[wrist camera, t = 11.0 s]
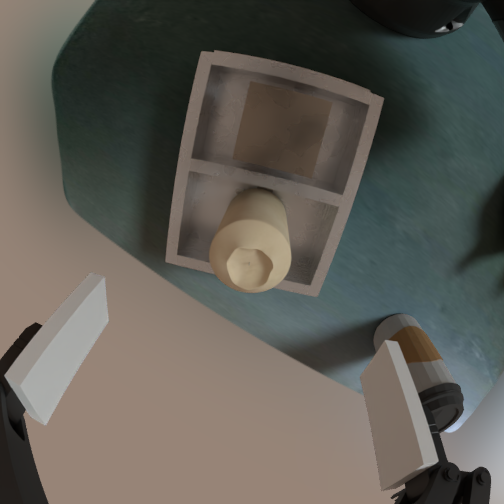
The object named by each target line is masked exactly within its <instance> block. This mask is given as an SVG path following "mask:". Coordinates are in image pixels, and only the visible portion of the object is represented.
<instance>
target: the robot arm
mask: <svg viewBox="0 0 504 504" xmlns="http://www.w3.org/2000/svg"><path fill="white" fill-rule="evenodd" d="M350 1H351V2H352V3H353V4H354V5H355V6H356V7H358V8H359V9H360V10H361V11H362V12H364V13H365V14H366V15H368V16H369V17H371V18H372V19H374V20H375V21H377V22H378V23H380V24H382V25H384V26H386V27H387V28H390V29H392V30H394V31H396V32H399V33H402V34H405V35H408V36H412V37H417V38H437V37H440V36H444V35H446V34H449V33H452V32H454V31H456V30H458V29H459V28H460V27H461V26H463V25H464V23H465V22H466V21H467V19H468V18H469V17H470V15H471V14H472V13H473V11H474V10H475V8H476V7H477V6H478V4H479V3H480V2H481V3H482V5H483V6H484V8H485V9H486V11H487V13H488V14H489V16H490V18H491V19H492V22H493V23H494V25H495V27H496V29H497V31H498V32H499V34H500V36H501V38H502V40H503V42H504V0H350ZM105 287H106V286H105V277H104V276H102V275H99V274H96V273H93V272H91V273H90V274H89V275H88V276H87V277H86V278H85V279H84V280H83V281H82V282H81V283H80V284H79V285H78V286H77V288H76V289H75V290H74V291H73V292H72V293H71V294H70V295H69V296H68V297H67V298H66V300H65V301H64V302H63V303H62V304H61V305H60V306H59V307H58V309H57V310H56V311H55V312H54V313H53V314H52V316H51V317H50V318H49V319H48V320H47V321H46V323H45V324H44V325H43V326H42V325H40V324H38V323H34V324H32V325H31V326H29V327H27V328H26V329H25V330H24V331H23V333H22V334H21V335H20V336H19V338H18V339H17V340H16V341H15V342H14V344H13V345H12V346H11V347H10V348H9V350H8V351H7V352H6V353H5V354H4V356H3V357H2V358H1V360H0V504H48V501H47V498H46V495H45V493H44V490H43V487H42V484H41V481H40V478H39V475H38V472H37V469H36V465H35V462H34V458H33V454H32V451H31V447H30V443H29V439H28V434H27V429H26V424H25V419H24V416H23V414H24V412H25V410H26V411H27V412H28V414H29V415H30V417H32V418H33V419H35V420H36V421H38V422H40V423H42V424H43V425H45V426H46V424H47V422H48V420H49V419H50V417H51V415H52V413H53V411H54V410H55V408H56V406H57V404H58V402H59V401H60V399H61V397H62V395H63V394H64V392H65V390H66V389H67V387H68V385H69V383H70V382H71V380H72V378H73V377H74V375H75V373H76V372H77V370H78V368H79V367H80V365H81V364H82V362H83V360H84V359H85V357H86V356H87V354H88V352H89V351H90V349H91V348H92V346H93V345H94V343H95V342H96V340H97V338H98V337H99V335H100V334H101V332H102V331H103V329H104V328H105V326H106V324H107V323H108V322H109V319H108V310H107V298H106V288H105ZM360 380H361V384H362V388H363V393H364V397H365V402H366V407H367V411H368V416H369V421H370V426H371V432H372V437H373V442H374V447H375V454H376V460H377V465H378V472H379V479H380V486H381V491H382V490H390V489H396V488H397V487H399V486H401V485H403V484H405V487H406V488H405V489H403V490H401V491H399V492H398V493H396V494H394V495H393V496H392V497H391V499H393V498H395V497H397V496H399V497H398V498H397V499H396V500H395V501H396V502H395V504H489V499H490V488H491V476H490V473H489V471H488V470H487V469H486V468H484V467H479V468H477V469H475V470H474V471H472V472H464V471H460V470H459V468H458V467H457V466H456V465H455V464H453V463H451V462H448V460H447V458H446V455H445V451H444V448H443V444H442V441H441V438H440V434H439V433H438V428H437V426H436V422H435V419H434V416H433V414H432V412H431V411H430V410H429V408H428V407H427V405H425V406H422V405H421V402H420V399H419V396H418V393H417V390H416V388H415V385H414V382H413V380H412V377H411V374H410V372H409V369H408V366H407V364H406V361H405V359H404V356H403V354H402V351H401V349H400V346H399V344H398V342H397V341H389V340H385V341H384V342H383V344H382V345H381V347H380V348H379V350H378V351H377V353H376V354H375V356H374V357H373V359H372V360H371V362H370V363H369V364H368V366H367V367H366V369H365V370H364V372H363V373H362V374H361V376H360Z"/></svg>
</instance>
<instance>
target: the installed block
mask: <svg viewBox="0 0 504 504" xmlns="http://www.w3.org/2000/svg"><path fill="white" fill-rule="evenodd" d="M332 103H333V102H329V101H326V100H323V99H320V98H316V97H313V96H310V95H306V94H302V93H299V92H295V91H291V90H287V89H283V88H279V87H275V86H271V85H266V84H262V83H257V82H252V81H250V85H249V89H248V93H247V97H246V101H245V105H244V110H243V114H242V118H241V122H240V127H239V131H238V135H237V140H236V144H235V149H234V153H233V158H232V159H234V160H239V161H243V162H248V163H252V164H256V165H260V166H265V167H269V168H273V169H277V170H281V171H285V172H289V173H292V174H296V175H300V176H304V177H307V178H311V179H312V175H313V172H314V169H315V165H316V162H317V158H318V154H319V151H320V147H321V144H322V140H323V137H324V133H325V129H326V126H327V122H328V118H329V114H330V111H331V107H332Z"/></svg>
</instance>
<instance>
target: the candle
mask: <svg viewBox="0 0 504 504" xmlns="http://www.w3.org/2000/svg"><path fill="white" fill-rule="evenodd" d="M209 259H210V264H211V267H212V269H213V271H214V273H215V275H216V276H217V277H218V278H219V280H221V281H222V282H223V283H224V284H225V285H227V286H228V287H230V288H232V289H235V290H237V291H241V292H246V293H257V292H262V291H266V290H269V289H271V288H273V287H275V286H276V285H277V284H279V283H280V282H281V281H282V280H283V279H284V277H285V276H286V274H287V273H288V271H289V268H290V265H291V248H290V240H289V232H288V225H287V217H286V212H285V208H284V206H283V204H282V202H281V201H280V200H279V199H278V197H277V196H275V195H274V194H273V193H271V192H269V191H267V190H264V189H258V188H254V189H248V190H245V191H243V192H241V193H239V194H238V195H236V196H235V197H234V198H233V200H232V201H231V202H230V204H229V206H228V208H227V210H226V212H225V214H224V216H223V219H222V221H221V223H220V225H219V227H218V229H217V232H216V234H215V236H214V238H213V240H212V243H211V246H210V250H209Z"/></svg>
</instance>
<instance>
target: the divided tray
mask: <svg viewBox="0 0 504 504" xmlns="http://www.w3.org/2000/svg"><path fill="white" fill-rule="evenodd" d="M250 81H252V82H257V83H262V84H266V85H271V86H275V87H279V88H283V89H287V90H291V91H295V92H299V93H302V94H306V95H310V96H313V97H316V98H320V99H323V100H326V101H329V102H333V103H332V107H331V111H330V114H329V118H328V122H327V126H326V129H325V133H324V137H323V140H322V144H321V147H320V151H319V154H318V158H317V162H316V165H315V169H314V172H313V175H312V179H311V178H307V177H304V176H300V175H296V174H292V173H289V172H285V171H281V170H277V169H273V168H269V167H265V166H260V165H256V164H252V163H248V162H243V161H239V160H234V159H232V158H233V153H234V149H235V144H236V140H237V135H238V131H239V127H240V122H241V118H242V114H243V110H244V105H245V101H246V97H247V93H248V89H249V85H250ZM370 91H371V90H369V89H366V88H364V87H361V86H358V85H356V84H353V83H350V82H347V81H344V80H342V79H339V78H336V77H332V76H329V75H326V74H323V73H320V72H316V71H313V70H309V69H306V68H302V67H298V66H294V65H291V64H286V63H282V62H278V61H274V60H269V59H264V58H259V57H254V56H249V55H243V54H237V53H231V52H224V51H217V50H214V52H206V51H201V54H200V58H199V62H198V66H197V70H196V74H195V79H194V83H193V87H192V92H191V96H190V101H189V105H188V110H187V115H186V120H185V125H184V130H183V136H182V141H181V147H180V153H179V158H178V164H177V171H176V177H175V184H174V191H173V198H172V205H171V213H170V222H169V230H168V239H167V249H166V260H165V262H167V263H171V264H175V265H179V266H183V267H187V268H191V269H195V270H199V271H204V272H208V273H212V274H215V273H214V271H213V269H212V267H211V264H210V259H209V250H210V246H211V243H212V240H213V238H214V236H215V234H216V232H217V229H218V227H219V225H220V223H221V221H222V219H223V216H224V214H225V212H226V210H227V208H228V206H229V204H230V202H231V201H232V200H233V198H234V197H235V196H236V195H238V194H239V193H241V192H243V191H245V190H248V189H254V188H258V189H264V190H267V191H269V192H271V193H273V194H274V195H275V196H277V197H278V199H279V200H280V201H281V202H282V204H283V206H284V208H285V212H286V217H287V225H288V232H289V240H290V248H291V265H290V268H289V271H288V273H287V274H286V276H285V277H284V279H283V280H282V281H281V282H280V283H279V284H277V285H276V286H275V287H273V288H277V289H282V290H286V291H291V292H295V293H300V294H305V295H310V296H314V297H317V296H318V294H319V292H320V289H321V287H322V284H323V282H324V279H325V277H326V274H327V272H328V269H329V267H330V264H331V262H332V259H333V257H334V254H335V251H336V249H337V246H338V243H339V241H340V238H341V235H342V233H343V230H344V227H345V224H346V222H347V219H348V216H349V213H350V210H351V207H352V204H353V201H354V199H355V196H356V193H357V190H358V187H359V183H360V180H361V177H362V174H363V171H364V168H365V165H366V161H367V158H368V155H369V151H370V148H371V145H372V141H373V138H374V134H375V131H376V127H377V124H378V120H379V116H380V112H381V109H382V105H383V101H384V98H383V97H380V96H378V95H376V94H373V93H370Z"/></svg>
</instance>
